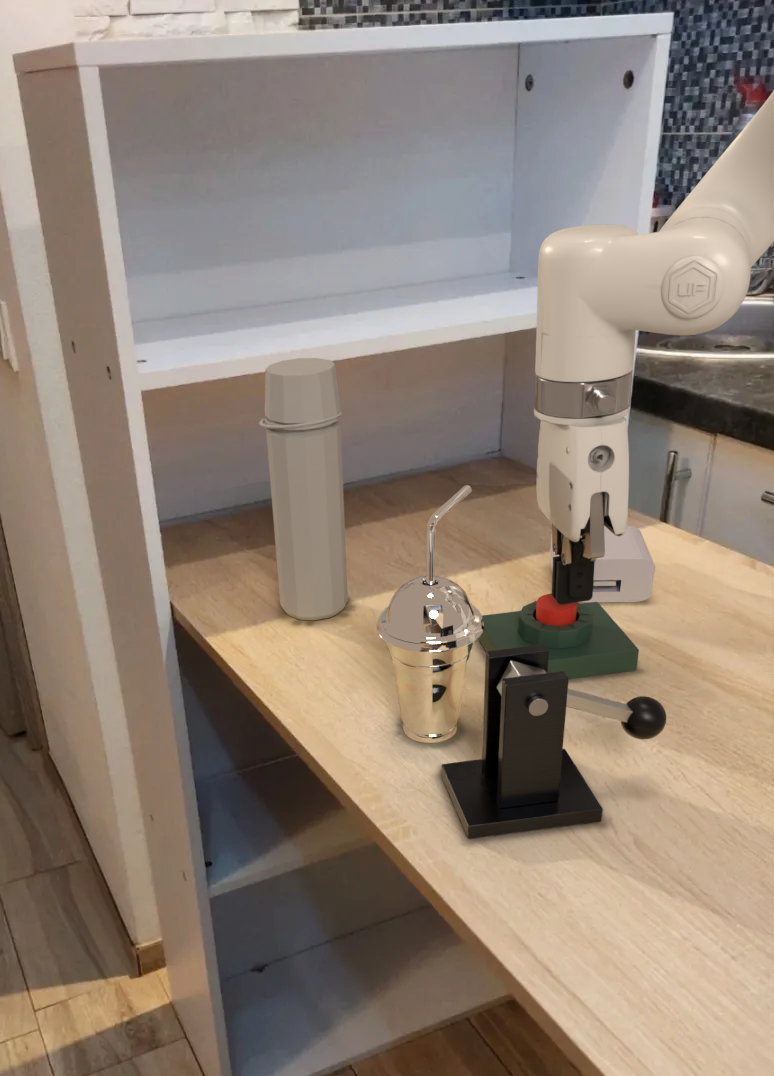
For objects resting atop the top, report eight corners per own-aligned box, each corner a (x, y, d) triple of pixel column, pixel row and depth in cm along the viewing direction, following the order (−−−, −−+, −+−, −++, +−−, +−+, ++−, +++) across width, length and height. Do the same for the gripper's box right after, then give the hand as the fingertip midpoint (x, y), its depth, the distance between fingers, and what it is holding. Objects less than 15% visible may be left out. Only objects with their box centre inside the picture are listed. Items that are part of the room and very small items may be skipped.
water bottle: (364, 609, 107) (356, 365, 94) (301, 631, 104) (283, 382, 91) (317, 580, 114) (303, 349, 101) (256, 600, 111) (234, 364, 98)
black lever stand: (563, 760, 82) (575, 629, 76) (601, 821, 75) (617, 683, 69) (441, 776, 82) (442, 645, 75) (468, 839, 75) (471, 701, 69)
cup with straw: (362, 717, 90) (354, 499, 79) (453, 691, 92) (456, 476, 82) (409, 767, 83) (406, 536, 72) (505, 737, 85) (516, 510, 75)
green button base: (595, 621, 101) (599, 584, 99) (636, 670, 93) (641, 631, 91) (476, 635, 101) (477, 599, 99) (506, 686, 92) (508, 647, 90)
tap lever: (641, 728, 78) (663, 694, 77) (659, 752, 76) (682, 716, 74) (491, 688, 75) (510, 651, 73) (504, 711, 72) (524, 673, 71)
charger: (627, 543, 116) (650, 602, 104) (544, 544, 118) (556, 603, 105) (632, 503, 114) (656, 558, 101) (546, 505, 115) (560, 560, 103)
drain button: (567, 608, 96) (569, 591, 96) (581, 625, 93) (583, 608, 92) (530, 612, 96) (531, 595, 95) (543, 629, 93) (544, 612, 92)
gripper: (666, 412, 77) (646, 629, 86) (593, 367, 90) (582, 561, 99) (568, 425, 77) (558, 642, 86) (509, 378, 89) (506, 571, 99)
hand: (571, 598), depth 93 cm, fingers closed
